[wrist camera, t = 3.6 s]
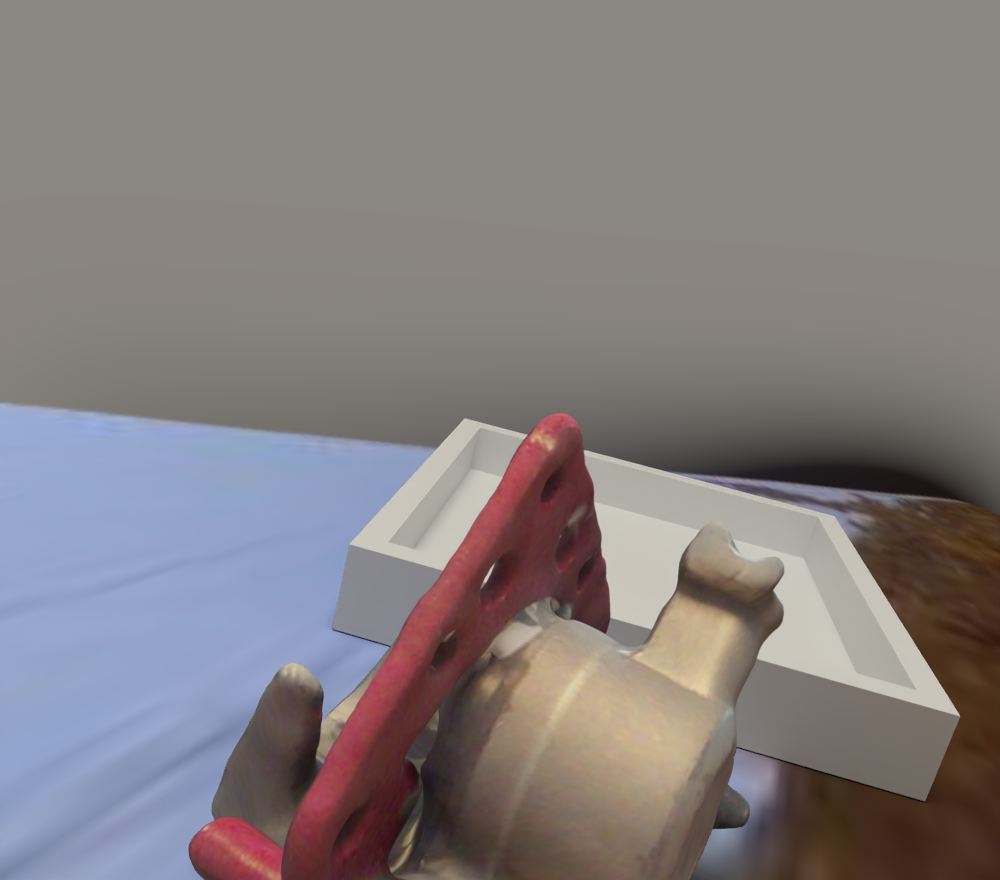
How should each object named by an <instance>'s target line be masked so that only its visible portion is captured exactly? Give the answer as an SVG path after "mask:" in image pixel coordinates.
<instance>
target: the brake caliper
mask: <svg viewBox="0 0 1000 880" xmlns="http://www.w3.org/2000/svg"><path fill="white" fill-rule="evenodd" d="M594 505H595V504H594V484H593V481H592V478H591V476H590V474H589V471H588V469H587V467H586V464H585V455H584V447H583V439H582V434H581V430H580V428H579V426H578V424H577V423H576V421H575V420H574V419H573V418H571V417H570V416H568V415H566V414H562V413H558V414H555V415H551V416H548V417H547V418H545V419H543V420H542V421H541V422H540V423H539V424H538V425H537V426H536V427H535V428H534V429H533V430H532V431H531V432H530V433H529V434H528V435H527V436H526V438H525V439H524V440H523V441H522V443H521V444H520V445H519V447H518V448H517V450H516V452H515V453H514V455H513V457H512V458H511V460H510V463H509V465H508V467H507V469H506V471H505V473H504V476H503V478H502V480H501V482H500V483H499V485H498V487H497V489H496V490H495V492H494V493H493V495H492V496H491V497H490V499H489V500H488V502H487V504H486V505H485V507H484V508H483V509H482V511H481V512H480V513H479V515H478V516H477V518H476V520H475V521H474V523H473V524H472V526H471V528H470V530H469V531H468V533H467V535H466V537H465V539H464V540H463V542H462V543H461V545H460V546H459V548H458V549H457V550H456V552H455V553H454V555H453V556H452V557H451V558H450V560H449V561H448V563H447V565H446V566H445V568H444V570H443V571H442V573H441V575H440V577H439V578H438V580H437V581H436V582H435V583H434V585H433V586H432V587H431V588H430V589H429V590H428V591H427V592H426V593H425V594H424V595H423V596H422V597H421V598H420V599H419V601H418V602H417V604H416V605H415V607H414V608H413V610H412V611H411V613H410V614H409V616H408V617H407V619H406V620H405V622H404V624H403V626H402V628H401V631H400V633H399V635H398V637H397V638H396V639H395V641H394V642H393V644H392V645H391V646H390V647H389V649H388V650H387V651H386V653H385V654H384V655H383V657H382V658H381V659H380V661H379V662H378V663H377V664H376V665H375V667H374V668H373V669H372V670H371V671H370V672H369V673H368V674H367V676H366V677H365V678H364V679H363V680H362V681H361V682H360V684H359V685H358V686H357V687H356V688H355V689H354V690H353V691H352V693H351V694H350V695H348V696H347V697H346V698H345V699H344V700H343V701H341V702H340V703H339V704H338V705H337V706H336V707H335V708H334V709H333V710H332V711H331V712H330V713H329V714H328V715H327V717H326V718H325V719H324V720H323V721H322V705H323V698H324V694H323V689H322V687H321V685H320V683H319V681H318V680H317V679H316V678H315V677H314V675H313V674H312V673H311V672H309V671H308V669H307V668H305V667H303V666H301V665H299V664H296V663H289V664H287V665H285V666H284V667H282V668H281V669H280V670H279V671H278V672H277V673H276V675H275V676H274V678H273V679H272V681H271V683H270V684H269V685H268V686H267V688H266V690H265V692H264V693H263V695H262V697H261V698H260V700H259V703H258V706H257V708H256V711H255V713H254V715H253V717H252V719H251V720H250V722H249V725H248V727H247V728H246V730H245V732H244V734H243V735H242V737H241V738H240V740H239V742H238V744H237V745H236V747H235V749H234V750H233V752H232V754H231V756H230V757H229V759H228V761H227V764H226V767H225V770H224V773H223V777H222V780H221V782H220V785H219V787H218V790H217V792H216V795H215V797H214V799H213V803H212V815H213V817H214V819H215V821H213V822H211V823H209V824H207V825H206V826H204V827H203V828H202V829H201V830H200V831H199V832H198V833H197V834H196V835H195V836H194V837H193V839H192V840H191V842H190V844H189V856H190V860H191V862H192V865H193V867H194V869H195V871H196V872H197V873H198V874H199V875H200V876H201V877H202V878H203V879H205V880H690V877H691V875H692V873H693V871H694V869H695V867H696V865H697V863H698V861H699V859H700V857H701V855H702V853H703V851H704V848H705V846H706V844H707V841H708V839H709V836H710V834H711V831H712V829H726V828H738V827H743V826H744V825H745V824H746V822H747V821H748V818H749V814H750V809H749V804H748V802H747V801H746V800H745V798H744V797H743V796H741V795H740V794H739V793H738V792H736V791H735V790H733V789H732V788H731V787H730V786H729V785H728V782H729V779H730V776H731V773H732V769H733V763H734V756H735V753H736V748H737V730H736V721H735V708H736V703H737V699H738V696H739V694H740V692H741V690H742V688H743V686H744V684H745V682H746V680H747V678H748V677H749V675H750V672H751V671H752V669H753V667H754V665H755V662H756V660H757V656H758V653H759V650H760V648H761V646H762V644H763V643H764V642H765V640H766V639H767V638H768V637H769V636H770V635H771V634H772V633H773V632H774V631H775V630H776V629H777V628H779V626H780V625H781V623H782V621H783V616H784V608H783V604H782V602H781V601H780V600H779V598H778V597H777V595H776V593H775V592H774V591H773V590H774V588H775V587H776V585H777V584H778V583H779V581H780V580H781V578H782V577H783V575H784V564H783V562H782V561H781V560H780V559H779V558H778V557H767V558H760V559H752V558H748V557H746V556H744V555H743V554H742V553H740V552H739V551H738V549H737V548H736V546H735V543H734V541H733V539H732V536H731V533H730V532H729V530H728V528H727V527H726V526H725V525H724V524H722V523H720V522H710V523H708V524H706V525H705V526H704V527H703V528H702V529H701V530H700V531H699V532H698V534H697V535H696V537H695V538H694V539H693V540H692V541H691V542H690V543H689V545H688V546H687V548H686V549H685V551H684V552H683V554H682V556H681V559H680V562H679V569H678V581H677V586H676V590H675V592H674V594H673V595H672V597H671V598H670V599H669V601H668V602H667V603H666V604H665V606H664V607H663V608H662V610H661V611H660V613H659V615H658V617H657V620H656V622H655V624H654V626H653V628H652V630H651V632H650V634H649V636H648V638H647V639H646V640H645V641H644V642H643V643H642V644H640V645H638V646H633V647H630V646H625V645H623V644H621V643H619V642H617V641H615V640H614V639H612V638H611V637H609V636H607V635H606V633H607V629H608V626H609V622H610V615H611V613H610V593H609V586H608V582H607V579H606V561H605V559H604V558H603V557H602V549H601V540H602V533H601V530H600V527H599V524H598V520H597V515H596V511H595V506H594ZM494 563H495V564H494ZM493 565H494V567H493V569H492V572H491V574H490V576H489V578H488V580H487V582H486V583H485V585H484V586H483V587H482V588H481V586H482V583H483V581H484V579H485V577H486V576H487V574H488V572H489V570H490V568H491V567H492V566H493Z"/></svg>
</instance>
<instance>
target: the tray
mask: <svg viewBox="0 0 1000 880" xmlns="http://www.w3.org/2000/svg"><path fill="white" fill-rule="evenodd" d="M526 436H527V435H525V434H522V433H518V432H514V431H510V430H506V429H503V428H499V427H495V426H491V425H488V424H484V423H480V422H476V421H473V420H469V419H464V420H463V421H462V422H461V423H460V424H459V426H458V427H457V428H456V429H455V430H454V431H453V432H452V433H451V434H450V435H449V436H448V437H447V438H446V440H445V441H444V442H443V443H442V444H441V445H440V446H439V447H438V448H437V449H436V450H435V452H434V453H433V454H432V455H431V456H430V457H429V458H428V459H427V460H426V461H425V462H424V464H423V465H422V466H421V467H420V468H419V469H418V470H417V471H416V472H415V473H414V474H413V476H412V477H411V478H410V479H409V480H408V481H407V482H406V483H405V484H404V485H403V486H402V487H401V489H400V490H399V491H398V492H397V493H396V494H395V495H394V496H393V497H392V498H391V499H390V501H389V502H388V503H387V504H386V505H385V506H384V507H383V508H382V509H381V510H380V511H379V513H378V514H377V515H376V516H375V517H374V518H373V519H372V520H371V521H370V522H369V523H368V525H367V526H366V527H365V528H364V529H363V530H362V531H361V532H360V533H359V534H358V535H357V537H356V538H355V539H354V540H353V541H352V542H351V543H350V544H349V549H348V554H347V559H346V564H345V569H344V574H343V579H342V584H341V589H340V594H339V599H338V604H337V609H336V614H335V619H334V624H333V629H334V630H338V631H341V632H345V633H348V634H352V635H355V636H358V637H362V638H365V639H369V640H372V641H376V642H379V643H383V644H386V645H389V646H391V645H392V644H393V642H394V641H395V639H396V638H397V637H398V635H399V633H400V631H401V628H402V626H403V624H404V622H405V620H406V619H407V617H408V616H409V614H410V613H411V611H412V610H413V608H414V607H415V605H416V604H417V602H418V601H419V599H420V598H421V597H422V596H423V595H424V594H425V593H426V592H427V591H428V590H429V589H430V588H431V587H432V586H433V585H434V583H435V582H436V581H437V580H438V578H439V577H440V575H441V573H442V571H443V570H444V568H445V566H446V565H447V563H448V561H449V560H450V558H451V557H452V556H453V555H454V553H455V552H456V550H457V549H458V548H459V546H460V545H461V543H462V542H463V540H464V539H465V537H466V535H467V533H468V531H469V530H470V528H471V526H472V524H473V523H474V521H475V520H476V518H477V516H478V515H479V513H480V512H481V511H482V509H483V508H484V507H485V505H486V504H487V502H488V500H489V499H490V497H491V496H492V495H493V493H494V492H495V490H496V489H497V487H498V485H499V483H500V482H501V480H502V478H503V476H504V473H505V471H506V469H507V467H508V465H509V463H510V460H511V458H512V457H513V455H514V453H515V452H516V450H517V448H518V447H519V445H520V444H521V443H522V441H523V440H524V439H525V438H526ZM584 455H585V464H586V467H587V469H588V471H589V474H590V476H591V478H592V481H593V484H594V504H595V505H594V506H595V511H596V515H597V520H598V524H599V527H600V530H601V533H602V540H601V549H602V557H603V558H604V559H605V561H606V579H607V582H608V586H609V593H610V613H611V615H610V622H609V626H608V629H607V633H606V635H607V636H609V637H611V638H612V639H614V640H615V641H617V642H619V643H621V644H623V645H625V646H630V647H633V646H638V645H640V644H642V643H643V642H644V641H645V640H646V639H647V638H648V636H649V634H650V632H651V630H652V628H653V626H654V624H655V622H656V620H657V617H658V615H659V613H660V611H661V610H662V608H663V607H664V606H665V604H666V603H667V602H668V601H669V599H670V598H671V597H672V595H673V594H674V592H675V590H676V586H677V581H678V569H679V562H680V559H681V556H682V554H683V552H684V551H685V549H686V548H687V546H688V545H689V543H690V542H691V541H692V540H693V539H694V538H695V537H696V535H697V534H698V532H699V531H700V530H701V529H702V528H703V527H704V526H705V525H706V524H708V523H710V522H720V523H722V524H724V525H725V526H726V527H727V528H728V530H729V532H730V533H731V536H732V539H733V541H734V543H735V546H736V548H737V549H738V551H739V552H740V553H742V554H743V555H744V556H746V557H748V558H752V559H760V558H767V557H778V558H779V559H780V560H781V561H782V562H783V564H784V575H783V577H782V578H781V580H780V581H779V583H778V584H777V585H776V587H775V588H774V590H773V591H774V592H775V593H776V595H777V597H778V598H779V600H780V601H781V602H782V604H783V608H784V616H783V621H782V623H781V625H780V626H779V628H777V629H776V630H775V631H774V632H773V633H772V634H771V635H770V636H769V637H768V638H767V639H766V640H765V642H764V643H763V644H762V646H761V648H760V650H759V653H758V656H757V660H756V662H755V665H754V667H753V669H752V671H751V672H750V675H749V677H748V678H747V680H746V682H745V684H744V686H743V688H742V690H741V692H740V694H739V696H738V699H737V703H736V708H735V721H736V730H737V747H740V748H743V749H747V750H750V751H753V752H757V753H760V754H764V755H767V756H771V757H774V758H778V759H781V760H784V761H788V762H791V763H795V764H798V765H802V766H805V767H808V768H812V769H815V770H819V771H822V772H826V773H829V774H832V775H836V776H839V777H843V778H846V779H850V780H853V781H857V782H860V783H863V784H867V785H870V786H874V787H877V788H881V789H884V790H887V791H891V792H894V793H898V794H901V795H905V796H908V797H911V798H915V799H918V800H922V801H925V800H926V798H927V796H928V793H929V791H930V788H931V786H932V783H933V781H934V779H935V776H936V774H937V771H938V769H939V766H940V764H941V762H942V759H943V757H944V754H945V752H946V749H947V747H948V745H949V742H950V740H951V737H952V735H953V733H954V730H955V728H956V725H957V723H958V720H959V718H960V715H959V714H958V712H957V710H956V709H955V707H954V706H953V704H952V702H951V701H950V699H949V698H948V696H947V694H946V693H945V691H944V690H943V688H942V687H941V685H940V683H939V682H938V680H937V679H936V677H935V675H934V674H933V672H932V671H931V669H930V667H929V666H928V664H927V663H926V661H925V659H924V658H923V656H922V655H921V653H920V652H919V650H918V648H917V647H916V645H915V644H914V642H913V640H912V639H911V637H910V636H909V634H908V632H907V631H906V629H905V628H904V626H903V624H902V623H901V621H900V620H899V618H898V616H897V615H896V613H895V612H894V610H893V609H892V607H891V605H890V604H889V602H888V601H887V599H886V597H885V596H884V594H883V593H882V591H881V589H880V588H879V586H878V585H877V583H876V581H875V580H874V578H873V577H872V575H871V574H870V572H869V570H868V569H867V567H866V566H865V564H864V562H863V561H862V559H861V558H860V556H859V554H858V553H857V551H856V550H855V548H854V546H853V545H852V543H851V542H850V540H849V539H848V537H847V535H846V534H845V532H844V531H843V529H842V527H841V526H840V524H839V523H838V521H837V519H836V518H835V516H831V515H827V514H824V513H820V512H816V511H812V510H809V509H805V508H801V507H797V506H794V505H790V504H786V503H782V502H778V501H775V500H771V499H767V498H763V497H760V496H756V495H752V494H748V493H744V492H741V491H737V490H733V489H729V488H726V487H722V486H718V485H714V484H710V483H707V482H703V481H699V480H695V479H692V478H688V477H684V476H680V475H676V474H673V473H669V472H665V471H661V470H658V469H654V468H650V467H646V466H643V465H639V464H635V463H631V462H627V461H624V460H620V459H616V458H612V457H609V456H605V455H601V454H597V453H593V452H590V451H585V450H584ZM494 564H495V563H494ZM493 567H494V565H493V566H492V567H491V568H490V570H489V572H488V574H487V576H486V577H485V579H484V581H483V583H482V586H481V588H482V587H483V586H484V585H485V583H486V582H487V580H488V578H489V576H490V574H491V572H492V569H493Z"/></svg>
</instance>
